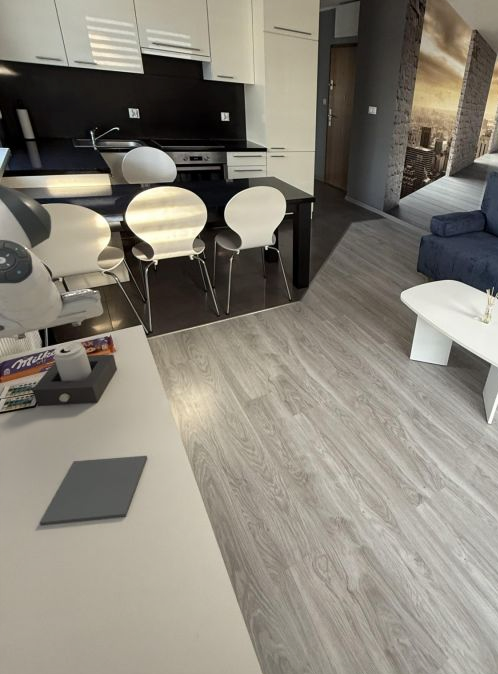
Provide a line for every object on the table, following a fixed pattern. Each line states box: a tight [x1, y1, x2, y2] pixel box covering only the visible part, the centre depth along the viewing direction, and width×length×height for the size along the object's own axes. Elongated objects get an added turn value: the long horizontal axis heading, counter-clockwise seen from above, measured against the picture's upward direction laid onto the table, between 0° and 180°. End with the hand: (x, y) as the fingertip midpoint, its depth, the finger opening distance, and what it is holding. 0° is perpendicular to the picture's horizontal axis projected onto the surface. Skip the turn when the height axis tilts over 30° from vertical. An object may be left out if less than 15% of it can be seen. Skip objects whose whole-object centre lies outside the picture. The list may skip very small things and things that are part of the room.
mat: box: [39, 455, 148, 526], centre depth 77 cm, size 14×13×1 cm
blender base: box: [31, 354, 118, 407], centre depth 100 cm, size 13×14×5 cm
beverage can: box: [53, 341, 91, 381], centre depth 99 cm, size 6×6×12 cm
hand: (49, 329), depth 82 cm, fingers open, 8 cm apart
